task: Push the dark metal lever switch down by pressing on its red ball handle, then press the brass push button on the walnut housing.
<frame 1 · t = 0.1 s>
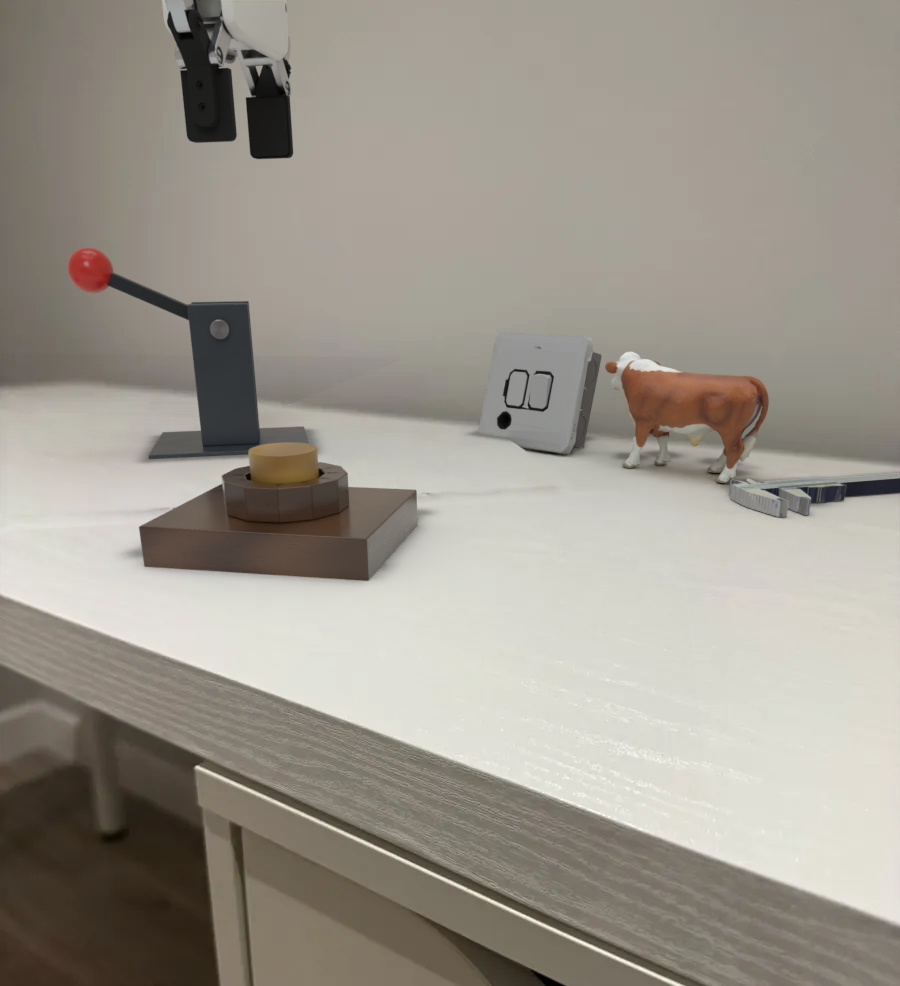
hand: (244, 150, 61), 22 cm above the table, tool pointing down, fingers open, 9 cm apart
electrical switch: (536, 446, 75), on the table
button: (284, 464, 47), point 4 cm above the table, slide at 0.1 cm
bull figurine: (671, 472, 65), on the table
switch bracket: (233, 454, 72), on the table
lever: (156, 298, 67), point 12 cm above the table, hinge at 25.0°
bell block: (290, 545, 48), on the table
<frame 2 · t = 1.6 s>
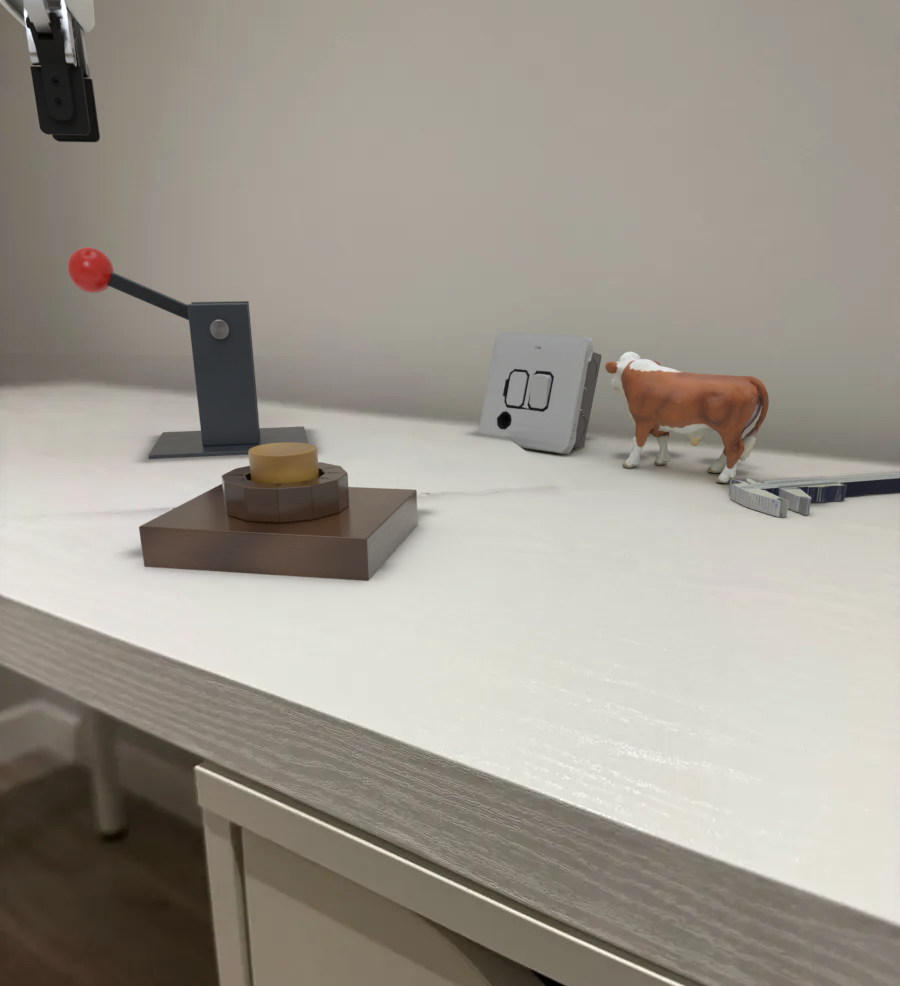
hand: (71, 135, 62), 23 cm above the table, tool pointing down, fingers open, 3 cm apart
nothing on the table moved.
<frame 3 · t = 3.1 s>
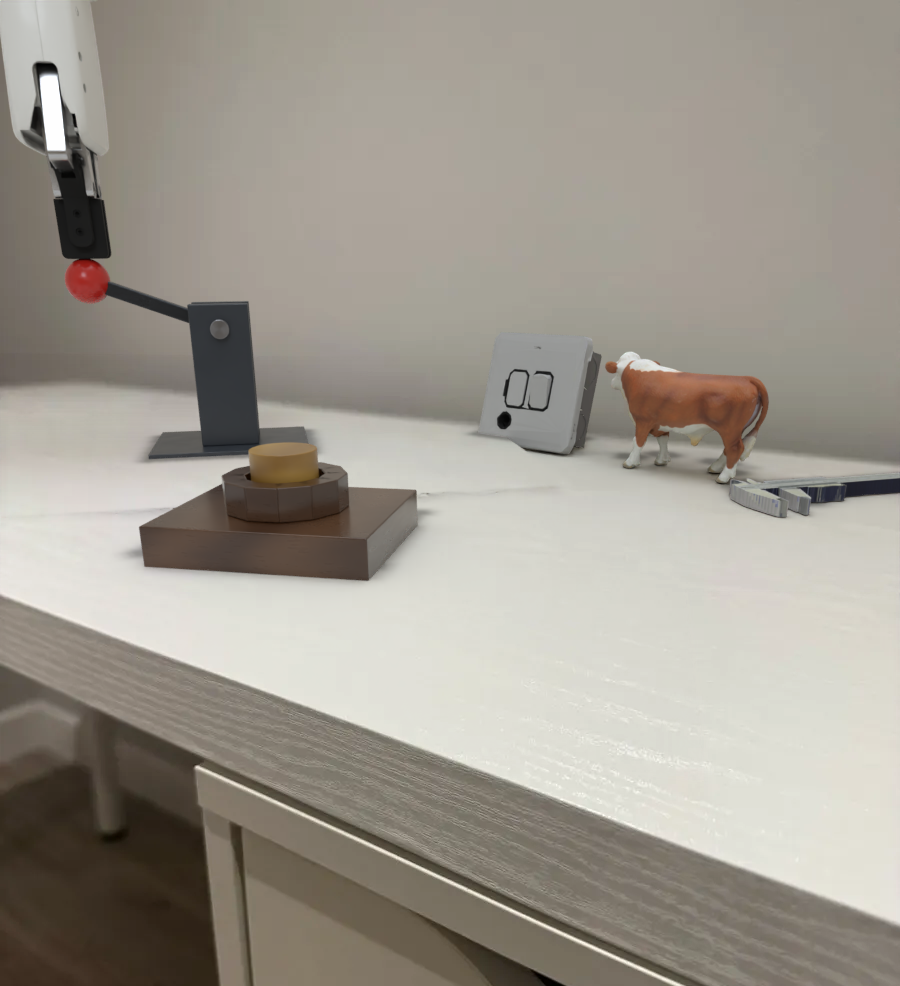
hand: (87, 258, 65), 15 cm above the table, tool pointing down, fingers closed
lever: (154, 304, 67), point 12 cm above the table, hinge at 20.2°, touching gripper
everything else where it was.
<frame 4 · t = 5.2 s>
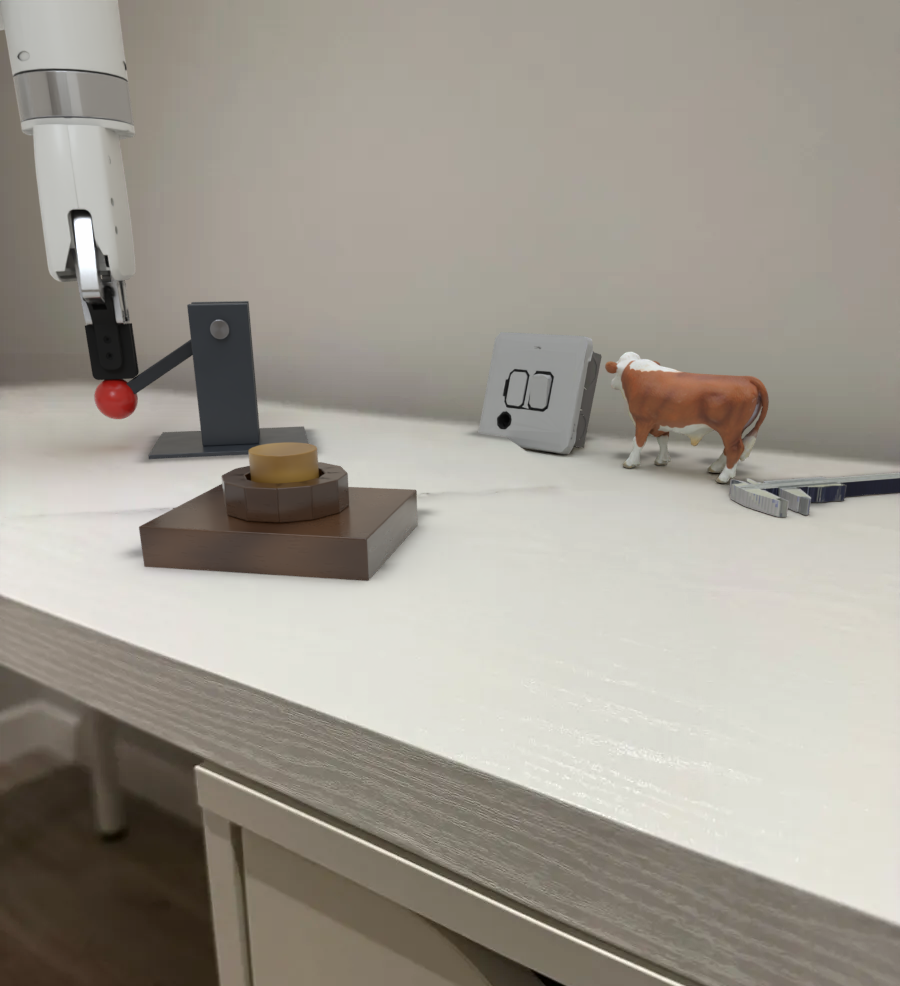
hand: (116, 377, 68), 6 cm above the table, tool pointing down, fingers closed
lever: (167, 363, 69), point 7 cm above the table, hinge at -31.3°, touching gripper
everything else where it was.
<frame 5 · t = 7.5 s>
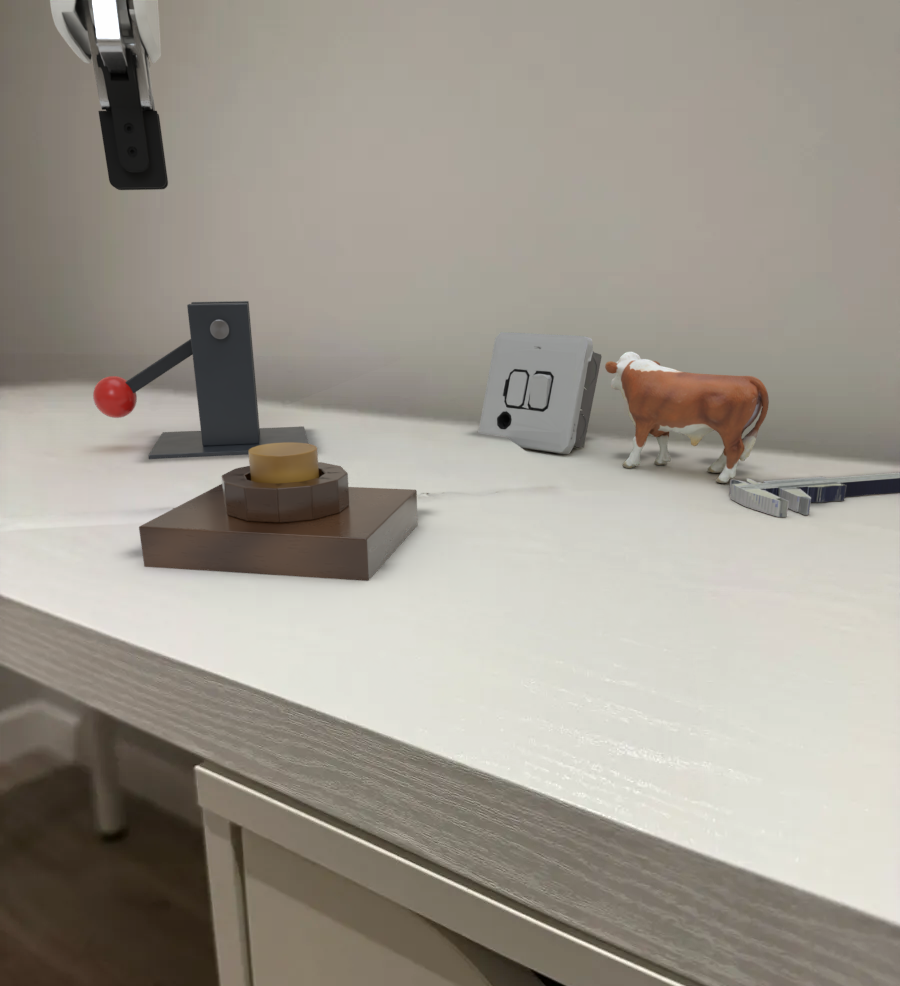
hand: (140, 187, 53), 19 cm above the table, tool pointing down, fingers closed
lever: (167, 362, 69), point 7 cm above the table, hinge at -30.6°
everything else where it was.
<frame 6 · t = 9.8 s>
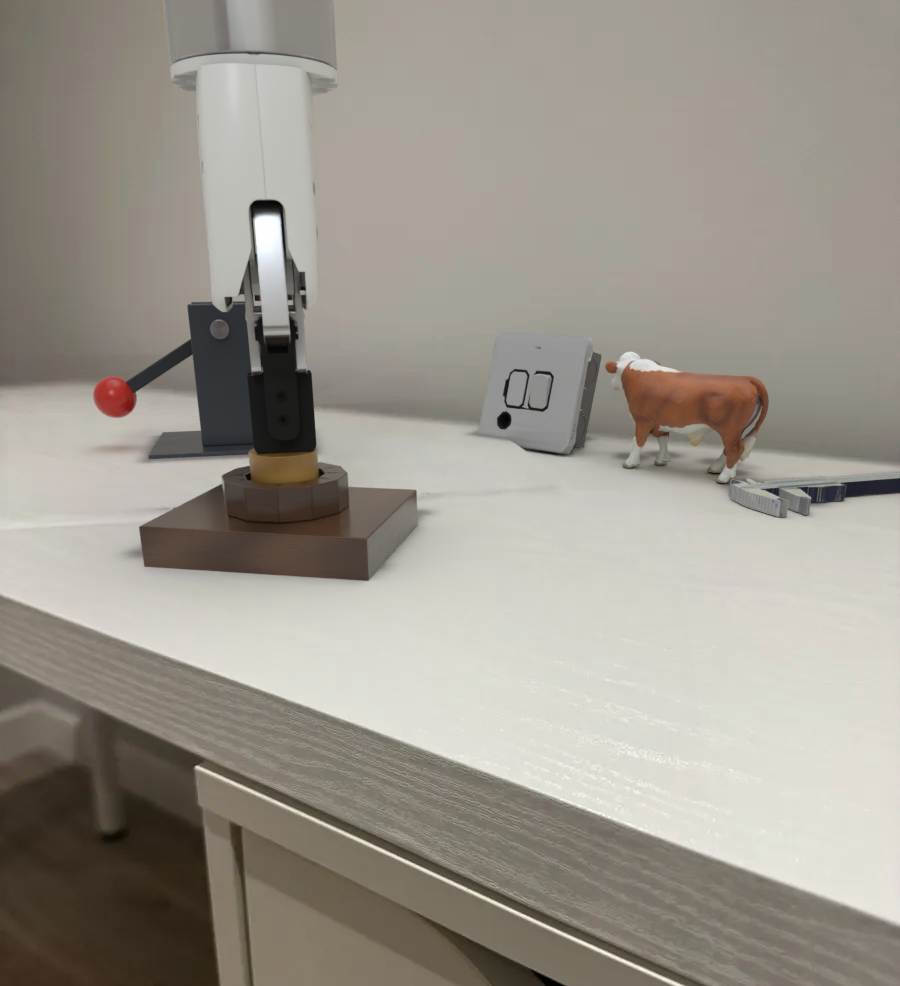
hand: (285, 449, 47), 5 cm above the table, tool pointing down, fingers closed
button: (284, 466, 47), point 4 cm above the table, slide at 0.0 cm, touching gripper
everything else where it was.
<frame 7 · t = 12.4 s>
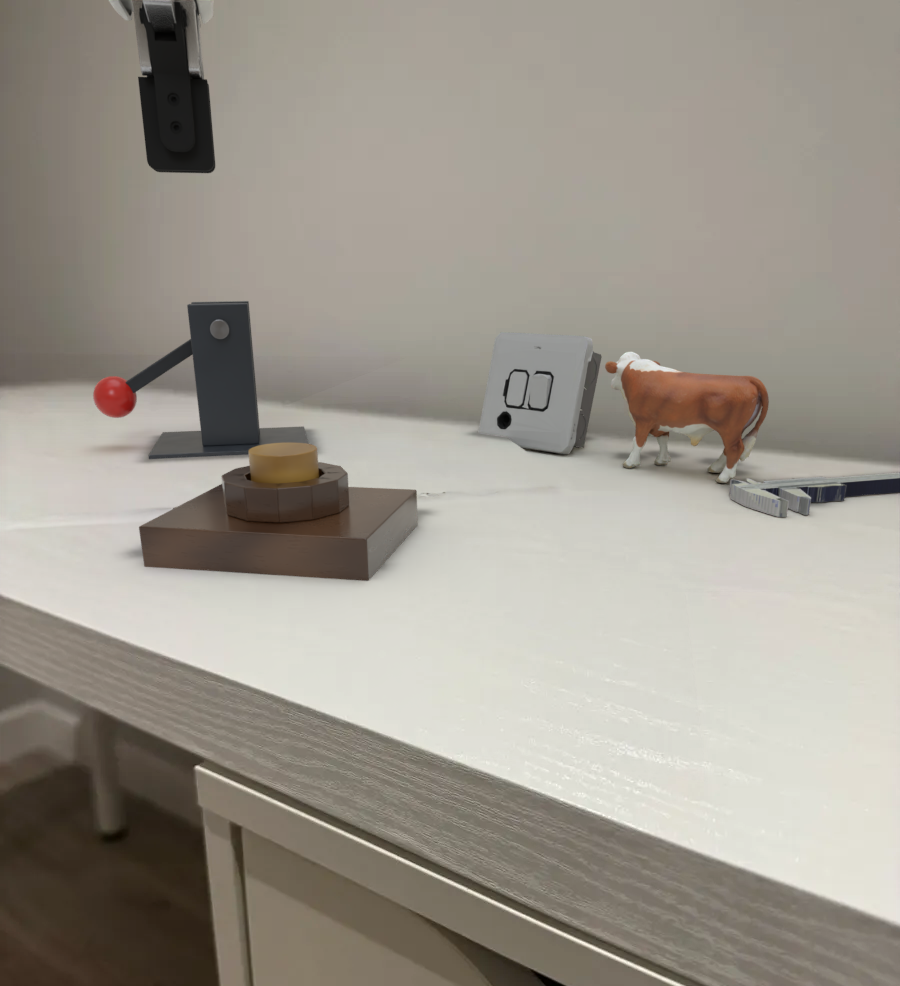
hand: (182, 170, 45), 19 cm above the table, tool pointing down, fingers closed
button: (284, 465, 47), point 4 cm above the table, slide at 0.1 cm
everything else where it was.
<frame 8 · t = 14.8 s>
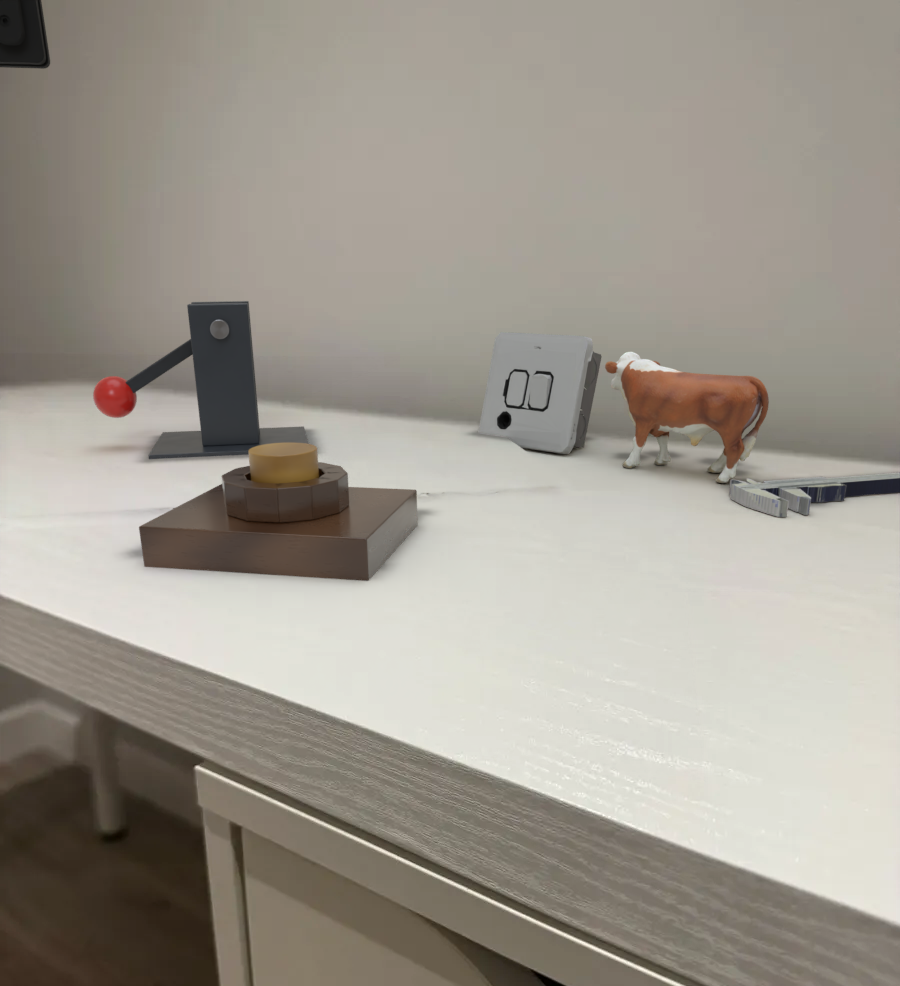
hand: (17, 64, 49), 25 cm above the table, tool pointing down, fingers closed
nothing on the table moved.
at the end: lever at -31° (first picture: +25°); button pushed in 1.1 cm at the most during the clip, back to where it started at the end; button slide at 0.1 cm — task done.
